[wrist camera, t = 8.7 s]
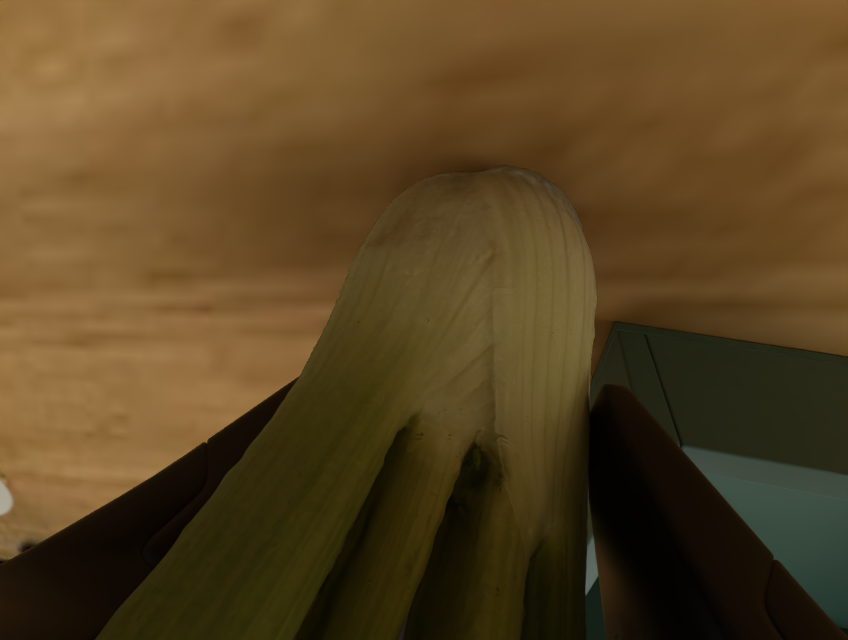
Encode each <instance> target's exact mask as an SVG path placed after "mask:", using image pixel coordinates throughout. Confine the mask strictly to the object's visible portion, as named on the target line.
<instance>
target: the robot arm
mask: <svg viewBox="0 0 848 640" xmlns="http://www.w3.org/2000/svg"><path fill="white" fill-rule="evenodd" d="M299 377H300V376H299ZM299 377H297V378H296V379H294V380H293V381H292V382H290V383H289V384H287V385H286V386H284V387H283V388H281V389H280V390H279V391H277V392H276V393H274V394H273V395H271V396H270V397H268V398H267V399H266V400H264V401H263V402H261V403H260V404H258V405H257V406H255V407H254V408H253V409H251V410H250V411H248V412H247V413H245V414H244V415H242V416H241V417H240V418H238V419H237V420H235V421H234V422H232V423H231V424H229V425H228V426H227V427H225V428H224V429H222V430H221V431H219V432H218V433H216V434H215V435H214V436H212V437H211V438H209V439H208V441H207V443H206V442H204V443H202V444H200V445H199V446H197V447H196V448H195V449H193V450H192V451H190V452H189V453H187V454H186V455H184V456H183V457H181V458H180V459H178V460H177V461H175V462H174V463H172V464H171V465H169V466H168V467H166V468H165V469H163V470H162V471H160V472H159V473H157V474H156V475H154V476H153V477H151V478H149V479H148V480H146V481H144V482H143V483H141V484H139V485H138V486H136V487H134V488H133V489H131V490H129V491H128V492H126V493H125V494H123V495H121V496H120V497H118V498H116V499H114V500H113V501H111V502H109V503H108V504H106V505H104V506H102V507H101V508H99V509H97V510H96V511H94V512H92V513H90V514H89V515H87V516H85V517H84V518H82V519H80V520H78V521H77V522H75V523H73V524H72V525H70V526H68V527H66V528H65V529H63V530H61V531H60V532H58V533H56V534H54V535H53V536H51V537H49V538H48V539H46V540H44V541H42V542H41V543H39V544H37V545H36V546H34V547H32V548H30V549H29V550H27V551H25V552H23V553H21V554H19V555H18V556H16V557H14V558H12V559H10V560H8V561H6V562H4V563H2V564H0V640H95V639H96V638H97V636H98V635H99V634H100V632H101V631H102V630H103V628H104V627H105V626H106V624H107V623H108V621H109V620H110V619H111V617H112V616H113V615H114V613H115V612H116V611H117V610H118V608H119V607H120V606H121V605H122V604H123V603H124V602H125V601H126V599H127V598H128V597H129V596H130V595H131V594H132V593H133V592H134V591H135V590H136V589H137V588H138V587H139V585H140V584H141V583H142V582H143V581H144V580H145V579H146V578H147V576H148V575H149V574H150V573H151V572H152V571H153V570H154V569H155V567H156V566H157V565H158V564H159V563H160V562H161V560H162V559H163V558H164V557H165V555H166V554H167V553H168V552H169V550H170V549H171V548H172V546H173V545H174V543H175V542H176V540H177V539H178V537H179V536H180V534H181V532H182V531H183V529H184V528H185V527H186V526H187V525H188V524H189V523H190V522H191V521H192V519H193V518H194V517H195V516H196V514H197V513H198V512H199V511H200V510H201V508H202V507H203V506H204V505H205V504H206V502H207V501H208V500H209V499H210V498H211V496H212V495H213V494H214V492H215V491H216V489H217V488H218V486H219V484H220V483H221V481H222V480H223V478H224V477H225V475H226V474H227V473H228V471H229V470H231V469H232V468H233V467H234V466H235V465H236V464H237V463H238V462H239V461H240V460H241V458H242V457H243V455H244V453H245V452H246V450H247V449H248V447H249V446H250V444H251V443H252V442H253V441H254V440H255V438H256V437H257V436H258V435H259V434H260V433H261V431H262V430H263V429H264V427H265V426H266V425H267V423H268V422H269V421H270V420H271V419H272V417H273V416H274V414H275V412H276V411H277V409H278V407H279V406H280V404H281V403H282V402H283V400H284V399H285V397H286V396H287V394H288V392H289V391H290V389H291V388H292V387H293V385H294V384H295V383H296V381H297V380H298V378H299ZM588 473H589V505H590V515H591V523H592V530H593V538H594V546H595V554H596V562H597V570H598V578H599V586H600V593H601V601H602V609H603V617H604V625H605V633H606V640H848V636H847V635H846V634H845V633H844V632H843V631H842V630H841V629H840V628H839V627H838V626H837V625H836V624H835V623H834V622H833V621H832V620H831V618H830V617H829V616H828V615H827V614H826V613H825V612H824V611H823V610H822V608H821V607H820V606H819V605H818V604H817V603H816V602H815V601H814V600H813V598H812V597H811V596H810V595H809V594H808V593H807V592H806V591H805V590H804V589H803V587H802V586H801V585H800V584H799V583H798V582H797V581H796V579H795V578H794V577H793V576H792V575H791V574H790V573H789V571H788V570H787V569H786V568H785V567H784V566H783V565H782V563H781V562H780V561H779V560H776V559H774V555H773V553H772V552H771V551H770V550H769V549H768V548H767V546H766V545H765V544H764V543H763V542H762V541H761V540H760V538H759V537H758V536H757V535H756V534H755V533H754V532H753V530H752V529H751V528H750V527H749V526H748V525H747V524H746V522H745V521H744V520H743V519H742V518H741V517H740V516H739V514H738V513H737V512H736V511H735V510H734V509H733V507H732V506H731V505H730V504H729V503H728V502H727V501H726V499H725V498H724V497H723V496H722V495H721V494H720V493H719V491H718V490H717V489H716V488H715V487H714V486H713V485H712V483H711V482H710V481H709V480H708V479H707V478H706V477H705V475H704V474H703V473H702V472H701V471H700V470H699V468H698V467H697V466H696V465H695V464H694V463H693V462H692V460H691V459H690V458H689V457H688V456H687V455H686V454H685V452H684V451H683V450H682V449H681V448H680V447H679V446H678V444H677V443H676V442H675V441H674V440H673V439H672V437H671V436H670V435H669V434H668V433H667V432H666V431H665V429H664V428H663V427H662V426H661V425H660V424H659V423H658V421H657V420H656V419H655V418H654V417H653V416H652V415H651V413H650V412H649V411H648V410H647V409H646V408H645V407H644V405H643V404H642V403H641V402H640V401H639V400H638V398H637V397H636V396H635V395H634V394H633V393H632V392H631V390H630V389H629V388H627V387H626V386H623V385H617V384H611V383H604V384H603V385H602V386H601V387H600V389H599V392H598V394H597V397H596V399H595V402H594V404H593V407H592V409H591V412H590V443H589V466H588Z"/></svg>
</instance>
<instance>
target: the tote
mask: <svg viewBox="0 0 848 640" xmlns="http://www.w3.org/2000/svg"><path fill="white" fill-rule="evenodd" d="M604 383H611V384H617V385H623V386H626V387H627V388H629V389H630V390H631V392H632V393H633V394H634V395H635V396H636V397H637V398H638V400H639V401H640V402H641V403H642V404H643V405H644V407H645V408H646V409H647V410H648V411H649V412H650V413H651V415H652V416H653V417H654V418H655V419H656V420H657V421H658V423H659V424H660V425H661V426H662V427H663V428H664V429H665V431H666V432H667V433H668V434H669V435H670V436H671V437H672V439H673V440H674V441H675V442H676V443H677V444H678V446H679V447H680V448H681V449H682V450H683V451H684V452H685V454H686V455H687V456H688V457H689V458H690V459H691V460H692V462H693V463H694V464H695V465H696V466H697V467H698V468H699V470H700V471H701V472H702V473H703V474H704V475H705V477H706V478H707V479H708V480H709V481H710V482H711V483H712V485H713V486H714V487H715V488H716V489H717V490H718V491H719V493H720V494H721V495H722V496H723V497H724V498H725V499H726V501H727V502H728V503H729V504H730V505H731V506H732V507H733V509H734V510H735V511H736V512H737V513H738V514H739V516H740V517H741V518H742V519H743V520H744V521H745V522H746V524H747V525H748V526H749V527H750V528H751V529H752V530H753V532H754V533H755V534H756V535H757V536H758V537H759V538H760V540H761V541H762V542H763V543H764V544H765V545H766V546H767V548H768V549H769V550H770V551H771V552H772V553H773V555H774V559H776V560H779V561H780V562H781V563H782V565H783V566H784V567H785V568H786V569H787V570H788V571H789V573H790V574H791V575H792V576H793V577H794V578H795V579H796V581H797V582H798V583H799V584H800V585H801V586H802V587H803V589H804V590H805V591H806V592H807V593H808V594H809V595H810V596H811V597H812V598H813V600H814V601H815V602H816V603H817V604H818V605H819V606H820V607H821V608H822V610H823V611H824V612H825V613H826V614H827V615H828V616H829V617H830V618H831V620H832V621H833V622H834V623H835V624H836V625H837V626H838V627H839V628H840V629H841V630H842V631H843V632H844V633H845V634H846V635H847V636H848V357H843V356H836V355H830V354H823V353H817V352H810V351H803V350H797V349H790V348H784V347H777V346H771V345H764V344H757V343H751V342H744V341H738V340H731V339H725V338H718V337H711V336H705V335H698V334H692V333H685V332H679V331H672V330H665V329H659V328H652V327H646V326H639V325H633V324H626V323H619V322H615V323H614V325H613V328H612V330H611V333H610V336H609V338H608V341H607V343H606V346H605V348H604V351H603V354H602V356H601V359H600V361H599V364H598V366H597V369H596V372H595V374H594V377H593V379H592V382H591V384H590V412H591V409H592V407H593V404H594V402H595V399H596V397H597V394H598V392H599V389H600V387H601V386H602V385H603V384H604ZM587 530H588V539H587V565H586V566H587V571H586V590H585V593H586V620H585V621H586V628H587V634H586V640H606V633H605V625H604V617H603V609H602V601H601V593H600V586H599V578H598V570H597V562H596V554H595V546H594V538H593V530H592V523H591V515H590V505H589V495H588V522H587Z"/></svg>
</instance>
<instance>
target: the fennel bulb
mask: <svg viewBox="0 0 848 640" xmlns="http://www.w3.org/2000/svg"><path fill="white" fill-rule="evenodd" d="M596 304H597V291H596V277H595V270H594V264H593V261H592V257H591V253H590V249H589V247H588V244H587V241H586V239H585V237H584V231H583V227H582V225H581V222H580V219H579V217H578V214H577V212H576V210H575V209H574V207H573V206H572V204H571V202H570V201H569V199H568V198H567V196H566V195H565V194H564V193H563V192H562V191H561V190H560V189H559V188H558V187H557V186H555V185H554V184H553V183H551V182H550V181H548V180H547V179H545V178H544V177H543V176H541V175H540V174H538V173H536V172H533V171H530V170H527V169H524V168H518V167H511V166H496V167H493V168H490V169H487V170H484V171H481V172H477V173H467V172H456V173H442V174H438V175H435V176H432V177H429V178H424V179H422V180H420V181H418V182H417V183H415V184H414V185H412V186H411V187H409V188H408V189H406V190H404V191H403V192H402V193H400V194H399V195H398V196H397V197H396V198H395V199H394V200H393V201H392V202H391V203H390V205H389V206H388V207H387V208H386V210H385V211H384V212H383V213H382V215H381V216H380V217H379V219H378V220H377V222H376V224H375V225H374V227H373V228H372V229H371V231H370V232H369V233H368V235H367V237H366V239H365V241H364V242H363V244H362V245H361V246H360V248H359V250H358V252H357V254H356V255H355V257H354V258H353V261H352V264H351V266H350V268H349V271H348V274H347V277H346V279H345V282H344V285H343V288H342V290H341V292H340V296H339V298H338V299H337V300H336V303H335V306H334V308H333V310H332V313H331V315H330V318H329V320H328V322H327V325H326V326H325V328H324V330H323V332H322V334H321V336H320V338H319V340H318V342H317V344H316V345H315V347H314V349H313V351H312V353H311V355H310V358H309V359H308V361H307V363H306V365H305V367H304V369H303V371H302V373H301V375H300V377H299V378H298V380H297V381H296V383H295V384H294V385H293V387H292V388H291V389H290V391H289V392H288V394H287V396H286V397H285V399H284V400H283V402H282V403H281V404H280V406H279V407H278V409H277V411H276V412H275V414H274V416H273V417H272V419H271V420H270V421H269V422H268V423H267V425H266V426H265V427H264V429H263V430H262V431H261V433H260V434H259V435H258V436H257V437H256V438H255V440H254V441H253V442H252V443H251V444H250V446H249V447H248V449H247V450H246V452H245V453H244V455H243V457H242V458H241V460H240V461H239V462H238V463H237V464H236V465H235V466H234V467H233V468H232V469H231V470H229V471H228V473H227V474H226V475H225V477H224V478H223V480H222V481H221V483H220V484H219V486H218V488H217V489H216V491H215V492H214V494H213V495H212V496H211V498H210V499H209V500H208V501H207V502H206V504H205V505H204V506H203V507H202V508H201V510H200V511H199V512H198V513H197V514H196V516H195V517H194V518H193V519H192V521H191V522H190V523H189V524H188V525H187V526H186V527H185V528H184V529H183V531H182V532H181V534H180V536H179V537H178V539H177V540H176V542H175V543H174V545H173V546H172V548H171V549H170V550H169V552H168V553H167V554H166V555H165V557H164V558H163V559H162V560H161V562H160V563H159V564H158V565H157V566H156V567H155V569H154V570H153V571H152V572H151V573H150V574H149V575H148V576H147V578H146V579H145V580H144V581H143V582H142V583H141V584H140V585H139V587H138V588H137V589H136V590H135V591H134V592H133V593H132V594H131V595H130V596H129V597H128V598H127V599H126V601H125V602H124V603H123V604H122V605H121V606H120V607H119V608H118V610H117V611H116V612H115V613H114V615H113V616H112V617H111V619H110V620H109V621H108V623H107V624H106V626H105V627H104V628H103V630H102V631H101V632H100V634H99V635H98V636H97V638H96V639H95V640H399V636H400V632H401V630H402V627H403V624H404V622H405V619H406V617H407V614H408V617H407V622H406V626H405V630H404V636H403V640H586V634H587V628H586V621H585V620H586V593H585V590H586V571H587V566H586V565H587V539H588V530H587V522H588V495H589V473H588V466H589V443H590V372H591V355H592V349H593V348H592V346H593V340H594V338H595V328H594V318H595V310H596Z"/></svg>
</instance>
